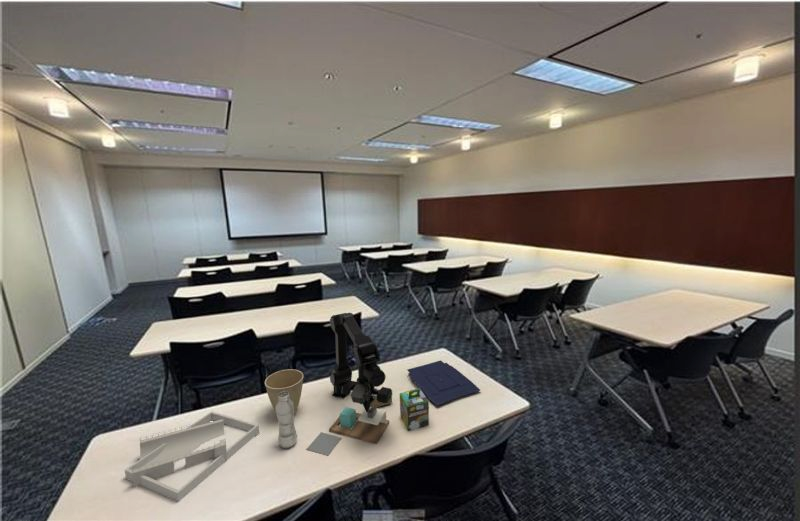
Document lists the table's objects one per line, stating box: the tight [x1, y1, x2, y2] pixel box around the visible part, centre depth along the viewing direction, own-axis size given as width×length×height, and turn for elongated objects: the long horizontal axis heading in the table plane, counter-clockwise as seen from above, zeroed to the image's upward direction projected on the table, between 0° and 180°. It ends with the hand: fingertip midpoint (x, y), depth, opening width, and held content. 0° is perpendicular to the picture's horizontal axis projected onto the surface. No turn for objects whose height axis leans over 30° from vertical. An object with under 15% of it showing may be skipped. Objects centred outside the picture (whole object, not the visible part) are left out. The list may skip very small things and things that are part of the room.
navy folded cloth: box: [406, 359, 481, 406], centre depth 151 cm, size 24×30×4 cm
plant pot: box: [264, 368, 304, 416], centre depth 131 cm, size 15×15×16 cm
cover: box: [358, 406, 388, 425], centre depth 119 cm, size 8×8×7 cm
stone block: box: [371, 395, 393, 408], centre depth 136 cm, size 6×12×5 cm, turn 107°
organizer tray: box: [124, 410, 260, 502], centre depth 110 cm, size 25×31×4 cm
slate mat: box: [306, 431, 342, 457], centre depth 114 cm, size 9×9×1 cm
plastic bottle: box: [274, 391, 298, 449], centre depth 113 cm, size 6×7×20 cm
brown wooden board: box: [328, 412, 390, 445], centre depth 122 cm, size 20×12×2 cm, turn 69°
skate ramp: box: [132, 416, 228, 488], centre depth 107 cm, size 25×19×10 cm
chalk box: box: [399, 387, 430, 432], centre depth 124 cm, size 9×9×15 cm
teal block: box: [339, 406, 357, 429], centre depth 124 cm, size 4×4×6 cm
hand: (367, 411), depth 120 cm, fingers closed
